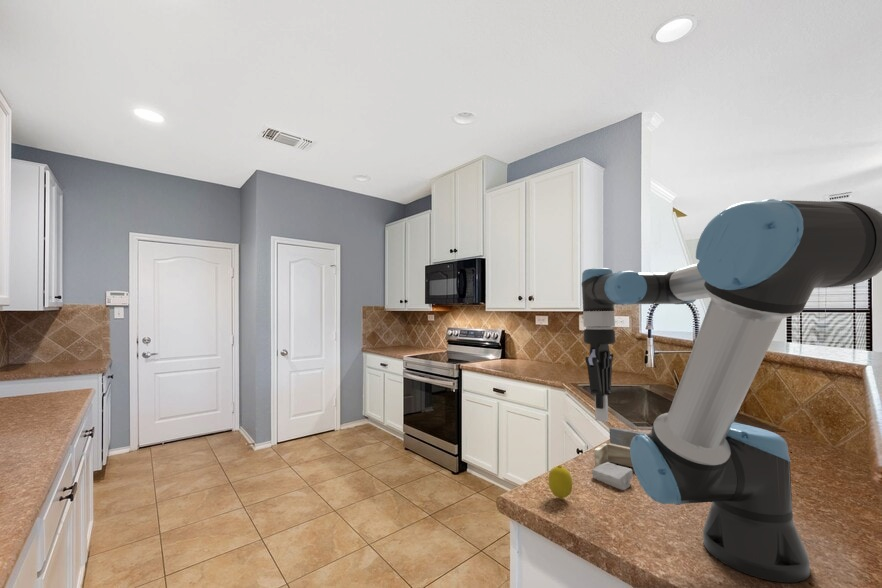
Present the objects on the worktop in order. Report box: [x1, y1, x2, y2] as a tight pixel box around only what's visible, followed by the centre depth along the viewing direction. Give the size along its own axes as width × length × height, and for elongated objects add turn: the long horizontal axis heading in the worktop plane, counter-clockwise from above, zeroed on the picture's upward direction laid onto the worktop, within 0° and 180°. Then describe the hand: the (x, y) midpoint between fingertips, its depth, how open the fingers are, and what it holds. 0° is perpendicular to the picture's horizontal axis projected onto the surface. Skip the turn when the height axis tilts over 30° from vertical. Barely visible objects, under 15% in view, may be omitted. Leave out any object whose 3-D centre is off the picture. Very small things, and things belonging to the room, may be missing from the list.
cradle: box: [593, 442, 633, 468], centre depth 110 cm, size 8×14×5 cm, turn 47°
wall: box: [609, 426, 648, 447], centre depth 118 cm, size 2×16×8 cm, turn 47°
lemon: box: [548, 464, 573, 500], centre depth 93 cm, size 6×6×8 cm
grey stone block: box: [592, 461, 634, 491], centre depth 103 cm, size 10×6×6 cm, turn 27°
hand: (601, 420), depth 99 cm, fingers closed
